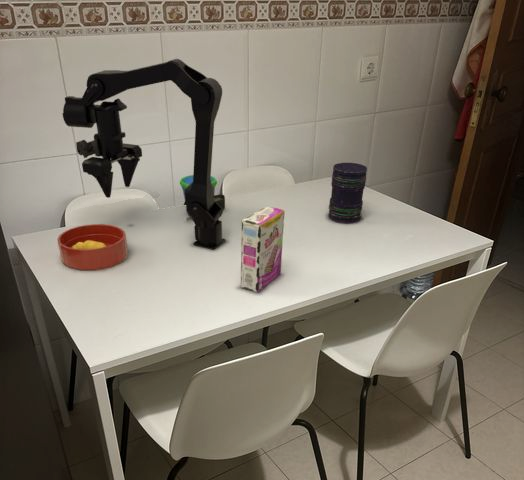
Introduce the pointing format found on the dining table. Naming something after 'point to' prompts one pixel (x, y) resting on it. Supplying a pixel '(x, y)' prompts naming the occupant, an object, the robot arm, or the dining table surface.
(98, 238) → the bowl
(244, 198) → the dining table surface
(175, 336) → the dining table surface
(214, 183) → the snack cup
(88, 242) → the banana
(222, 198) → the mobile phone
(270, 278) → the candy bar box
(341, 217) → the storage jar
